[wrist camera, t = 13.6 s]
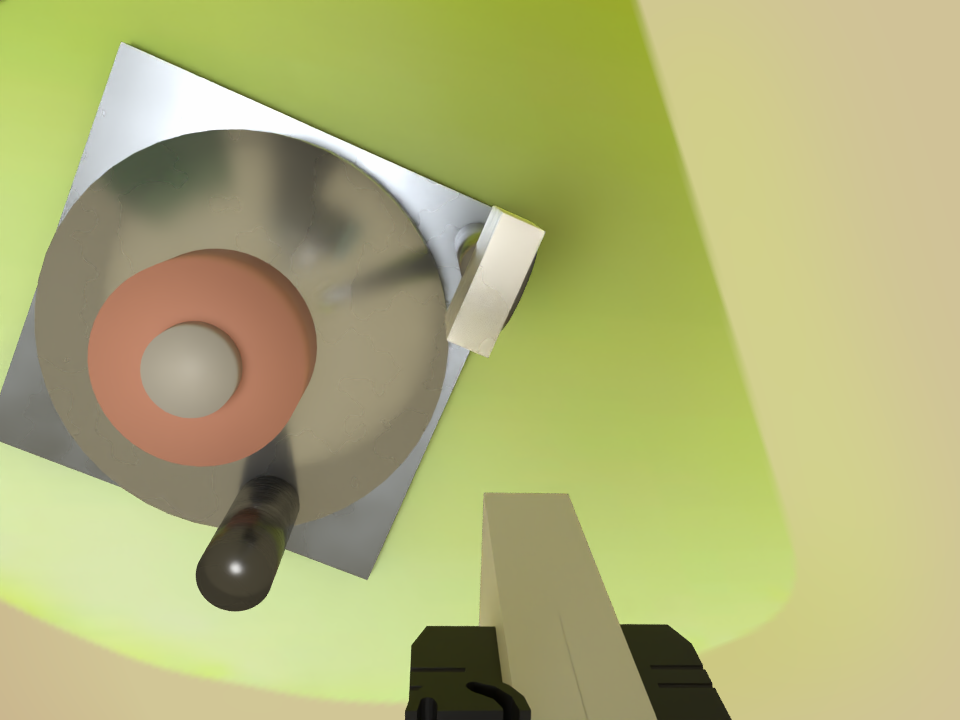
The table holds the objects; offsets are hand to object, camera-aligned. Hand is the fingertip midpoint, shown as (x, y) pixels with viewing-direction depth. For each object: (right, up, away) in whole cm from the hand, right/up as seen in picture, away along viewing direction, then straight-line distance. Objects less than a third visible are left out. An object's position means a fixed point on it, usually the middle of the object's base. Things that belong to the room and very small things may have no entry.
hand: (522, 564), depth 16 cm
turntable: (-10, +5, +19) cm, 22 cm away
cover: (-10, +4, +17) cm, 20 cm away
